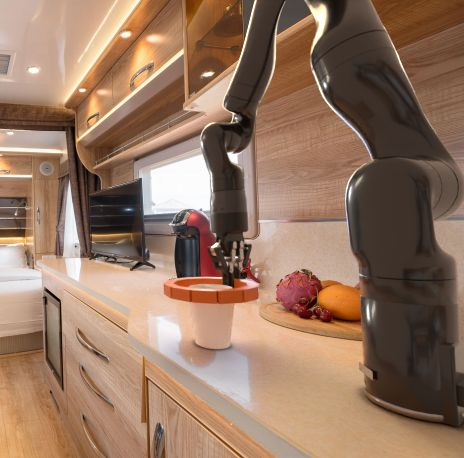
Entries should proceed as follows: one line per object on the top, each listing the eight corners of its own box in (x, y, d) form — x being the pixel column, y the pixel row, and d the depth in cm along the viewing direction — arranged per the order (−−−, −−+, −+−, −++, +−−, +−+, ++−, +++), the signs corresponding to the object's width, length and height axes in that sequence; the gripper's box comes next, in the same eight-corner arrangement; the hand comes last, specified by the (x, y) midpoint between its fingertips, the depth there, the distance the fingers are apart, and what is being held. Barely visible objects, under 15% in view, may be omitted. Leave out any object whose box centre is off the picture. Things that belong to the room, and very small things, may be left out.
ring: (276, 294, 67) (276, 282, 67) (222, 308, 58) (221, 295, 58) (200, 284, 83) (199, 274, 83) (147, 294, 73) (147, 283, 73)
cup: (226, 336, 74) (223, 283, 74) (244, 351, 65) (241, 290, 65) (184, 337, 75) (182, 284, 75) (196, 352, 66) (194, 292, 66)
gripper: (225, 210, 68) (229, 295, 68) (262, 210, 75) (266, 286, 75) (194, 213, 74) (197, 290, 74) (231, 212, 81) (234, 283, 81)
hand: (232, 288), depth 74 cm, fingers closed on ring, 2 cm apart
